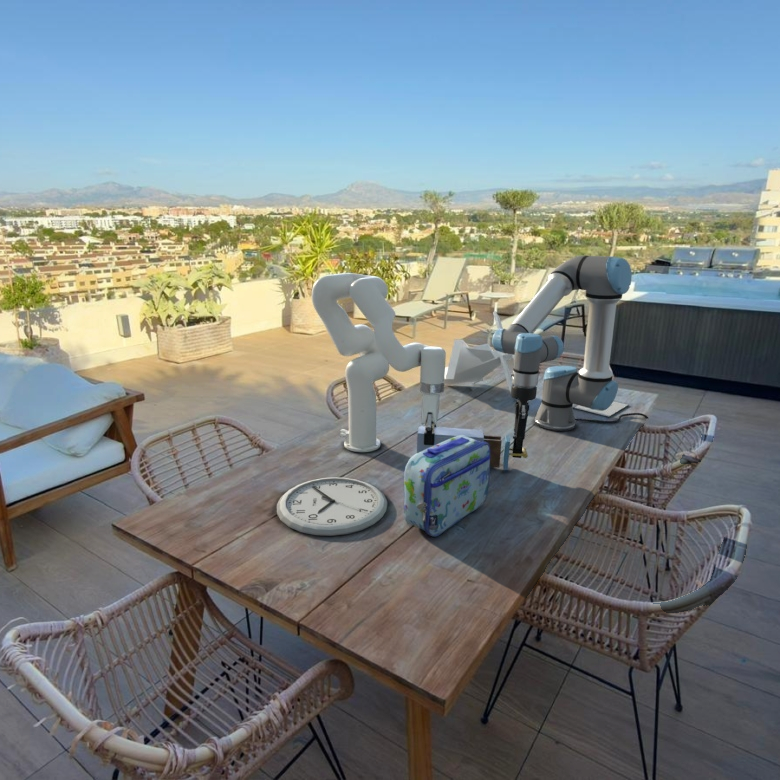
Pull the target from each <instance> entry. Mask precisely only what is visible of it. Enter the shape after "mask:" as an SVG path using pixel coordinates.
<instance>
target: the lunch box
mask: <svg viewBox="0 0 780 780" xmlns="http://www.w3.org/2000/svg"><path fill="white" fill-rule="evenodd" d="M490 473H491V467H490V446H489V444H488V443H487V442H484V441H482V442H480V441H477V440H474V439H472V438H469V437H467V436H464V435H459V436H456V437H453V438H451V439H448V440H446V441H444V442H441V443H439V444H437V445H434V446H432V447H430V448H428V449H426V450H424V451H421V452H419V453H417V452H416V453H415V454H413V455H411V457H410V458H409V459H408V460H407V463H406V464H405V467H404V472H403V517H404V521H405V522H406V523H407V524H409V525H411V526H414V527H416V528H419V529H421V530H423V531H424V532H425V533H426V535H429V536H430V537H433V538H434V537H439V536H440V535H441V534H442V533H444V532H446V531H447V530H448V529H450V528H451V527H452V526H454V525H455V524H457V523H458V522H459V521H461V520H463V519H464V518H465V517H466V516H468V515H469V514H471V513H473V512H475V511H476V510H478V509H479V508H481V507H482V505H484V502H486V501H485V500H486V499H487V496H488V493H489V487H490Z"/></svg>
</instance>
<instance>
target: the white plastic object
mask: <svg viewBox="0 0 780 780" xmlns="http://www.w3.org/2000/svg"><path fill="white" fill-rule="evenodd" d="M492 315H493V319H494V321H495V324H496V325H495V326H496V328H497V330H499V329H504V328H503V325H502V321H501V318H500V315H499V314H498V312H497V311H496V310H495V311H492ZM510 360H513V361H514V355H512V354H507V353H503V352H499V351H497V350H495V349H493V347H491V346H490V344H489V343H488V342H487V343H483V344H479V345H473V346H469V345H468V343H466V342H465V340H464V339H463V338H460V339H458V338H454V340H453V344H452V349H451V353H450V357H449V362H448V366H445V380H444V386H449V385H458V384H467V383H468V384H469V383H473V384H477V383H480V382H482V381H484V378H485V377H486V376H487V375H489V374H490V373H492V372H494V371H495V370H496V369H497V368H499V367H500V366H502V370H503V373H504V376H505V380H506V383H507V386H508V390H509V393H511V386H512V384H513V383H512V377H511V376H510V375H511V371H510V369H509V365H508V361H510Z"/></svg>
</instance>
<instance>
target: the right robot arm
mask: <svg viewBox="0 0 780 780" xmlns="http://www.w3.org/2000/svg"><path fill="white" fill-rule="evenodd" d="M631 284H632V269H631V265H630V263H629V261H627V259H625V258H623V257H617V256H607V255H605V256H603V255H583V254H582V255H576V256H574V257H572V258H570V259H567V260H566V261H564V262H563V263H561V264H559V265H558V266H557V267H555V269H553V270H552V271H551V273H549V274H548V276H547V278H546V283H545V284H544V285H543V286H542V287H541V289H540V290H539V291H538V292H537V293H536V295H535V296H534V297H533V298H532V299H531V300H530V302H529V303H528V304H527V305H526V307H524V309H523V310H522V311H521V312H520V313H519V315H518V316H517V317H516V318H515V319H514V320H513V322H512V323H511V324H510V325H509V326H508V328H503V329H499V330H498V329H497V330H495V331H494V333H493V335H492V339H491V344H492V349H493V350H497V351H499V352H503V353H507V354H512V355H514V360H513V367H512V373H510V376H511V378H512V383H513V384H512V386H511V392H510V397H511V398H512V399H513V400H514V399H515V400H516V401H515V402H514V407H515V409H514V426H513V435H512V439H513V444H512V448H513V451H512V452H511V453H516V454H522V448H524V447H523V446H524V440H525V438H526V430H527V422H528V418H529V411H530V404H529V401H534V400H535V399H536V398H537V391H538V387H537V386H538V383H539V376H540V366H541V365H540V364H542V363H546V362H551V361H555V360H556V359H558V358H560V357H561V356H562V355H563V353H564V349H565V345H564V342H563V340H562V339H561V337H559V336H557V335H546V336H543V335H541V334H538V333H535V332H536V331H537V330H538V328H539V327H540V326H541V325H542V324H543V322H544V321H545V320H546V319H547V318H548V317H549V315H550V314H551V312H552V311H554V309H555V308H556V306H558V304H559V303H560V302H561V300H562V299H563V298H564V297H567V296H569V295H570V294H571V293H572V292H573V291H575V290H580V291H585V298H586V299H587V300H588V302H589V306H588V317H587V326H586V334H585V335H586V337H585V347H584V355H583V356H584V357H583V367H582V368H580V369H579V370H578V368H577V367H576V366H571V365H555V366H554V365H553V366H550V367H547V368H546V369H545V371H544V375H543V381H542V382H543V383H542V394H541V402H540V405H539V407H538V410H537V411H536V413H535V415H534V424H535V425H536V426H537V427H539V428H542V429H544V430H549V431H556V432H567V431H572V430H574V429H575V428H576V421H577V422H589V423H590V422H591V423H598V424H599V423H600V424H615V423H618V422H620V421H621V419H622V418H624V417H628V416H641V417H644V418H645V419H648V420H649V416H648V415H646V414H645V413H641V412H630V413H622V414H620V415H619V416H618V418H617V419H615V420H599V419H589V418H577V417H576V416H575V413H574V407H573V405H575V406H578V405H580V406H583V407H587V408H590V409H593V410H594V409H595V410H600V411H604V410H606V409H607V408H609V407H610V405H611V404H612V403H613V401H614V402H615V399H616V397H617V394H618V391H619V383H618V382H617V380H615V379H613V376H614V373H613V372H612V371H611V369H610V361H611V355H612V354H611V353H612V346H613V336H614V330H615V329H614V328H615V327H614V326H615V320H616V312H617V303H618V302H619V301H620V300H622V298H623V295H624V294H626V293H628V291H629V290H630V286H631ZM575 417H576V418H575ZM511 457H512V458H514V459H516V458H517V459H522V456H511Z"/></svg>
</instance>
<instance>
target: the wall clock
mask: <svg viewBox="0 0 780 780" xmlns="http://www.w3.org/2000/svg"><path fill="white" fill-rule="evenodd" d="M387 509H388V500H387V498H386V496H385V494H384V493H383V492H382V491H381V490H380V489H379V488H377V487H376V486H374V485H372V484H371V483H369V482H365V481H362V480H359V479H355V478H349V477H338V476H337V477H335V476H333V477H332V476H331V477H322V478H317V479H312V480H307V481H305V482H302V483H299V484H297V485H295V486H293V487H292V488H290V489H288V490H287V491H286V492H285V493H284V494H283V495H281V496H280V498H279V499H278V502H277V503H276V515H277V517H278V518H279V520H280V521H281V522H282V523H283V524H285V525H286V526H287V527H288V528H290V529H293V530H295V531H297V532H299V533H303V534H308V535H312V536H327V537H328V536H329V537H331V536H332V537H333V536H342V535H350V534H352V533H356V532H361V531H363V530H366V529H368V528H369V527H372V526H373V525H375V524H376V523H378V522H379V521H380V520H381V519H382V518H383V517H384V516H385V514H386V512H387Z"/></svg>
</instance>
